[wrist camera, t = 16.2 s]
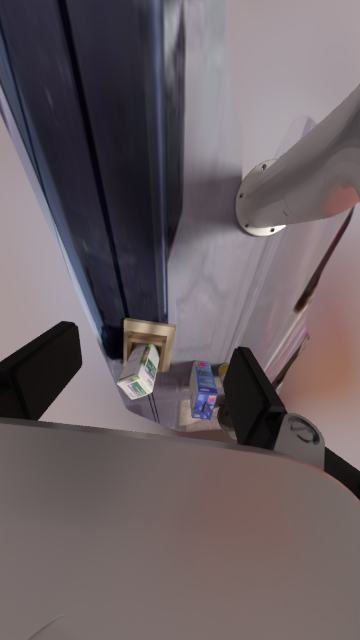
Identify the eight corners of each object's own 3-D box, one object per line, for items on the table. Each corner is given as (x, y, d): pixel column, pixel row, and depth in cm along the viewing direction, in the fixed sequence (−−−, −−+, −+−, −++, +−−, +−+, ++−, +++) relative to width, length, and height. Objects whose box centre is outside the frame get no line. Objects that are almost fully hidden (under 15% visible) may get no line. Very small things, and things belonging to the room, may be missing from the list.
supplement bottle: (237, 371, 53) (248, 396, 44) (223, 378, 55) (230, 404, 46) (229, 360, 51) (239, 384, 43) (214, 367, 53) (220, 393, 44)
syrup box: (161, 352, 49) (153, 393, 36) (144, 359, 50) (131, 401, 37) (151, 337, 47) (138, 374, 34) (134, 345, 48) (115, 384, 35)
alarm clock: (217, 408, 61) (228, 461, 46) (212, 398, 59) (222, 451, 44) (247, 400, 59) (268, 453, 44) (243, 390, 57) (264, 442, 42)
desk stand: (176, 325, 47) (175, 334, 42) (168, 369, 53) (167, 381, 49) (125, 317, 46) (119, 326, 41) (125, 363, 53) (119, 374, 48)
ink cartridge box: (205, 385, 56) (211, 429, 43) (188, 383, 56) (190, 427, 43) (211, 362, 52) (220, 403, 39) (193, 360, 52) (197, 400, 39)
